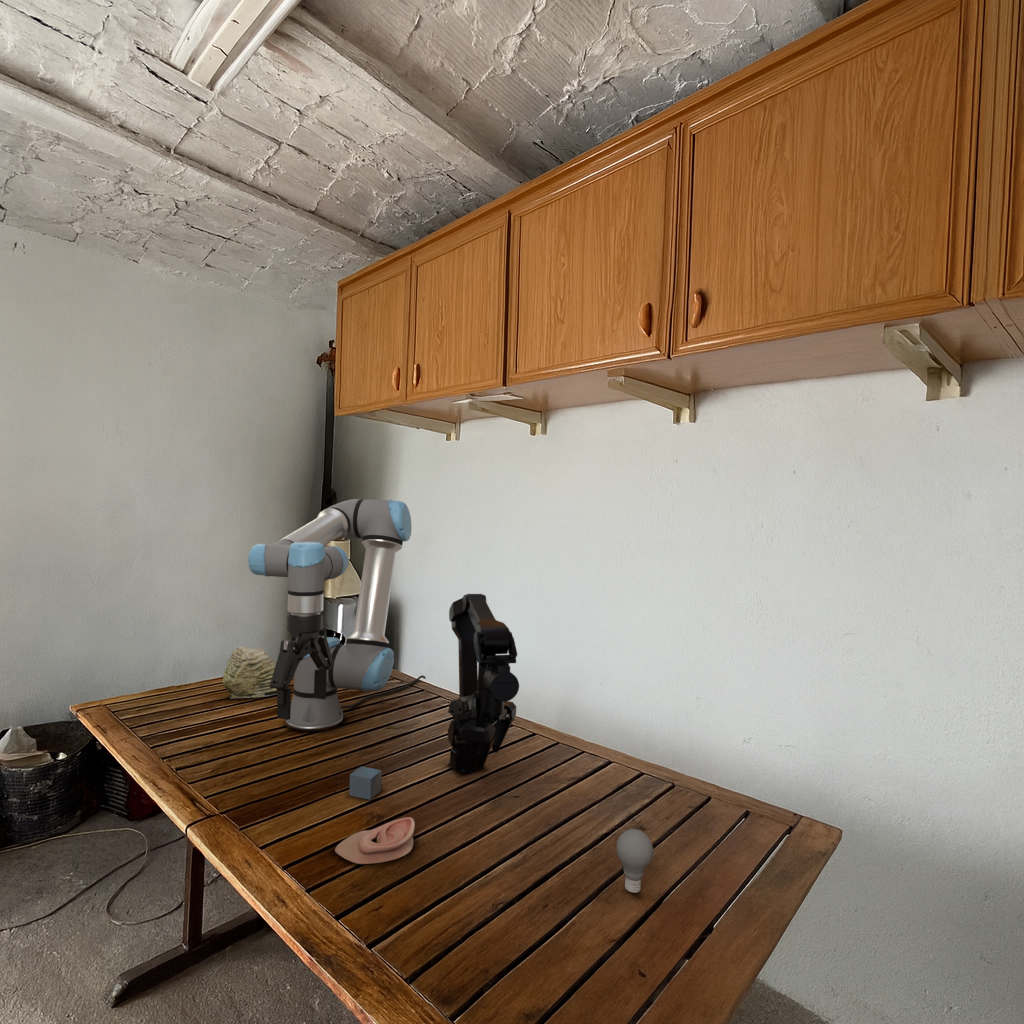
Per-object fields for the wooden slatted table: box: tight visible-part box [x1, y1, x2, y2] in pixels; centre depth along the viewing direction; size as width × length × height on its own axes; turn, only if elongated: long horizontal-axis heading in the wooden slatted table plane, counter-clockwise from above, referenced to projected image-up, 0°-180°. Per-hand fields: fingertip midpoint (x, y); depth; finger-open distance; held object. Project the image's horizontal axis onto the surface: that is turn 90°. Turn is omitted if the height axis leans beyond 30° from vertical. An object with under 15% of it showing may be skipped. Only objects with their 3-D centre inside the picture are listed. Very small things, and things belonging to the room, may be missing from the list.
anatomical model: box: [334, 816, 416, 865], centre depth 115 cm, size 13×4×12 cm
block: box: [348, 765, 383, 801], centre depth 136 cm, size 4×5×5 cm
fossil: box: [222, 646, 285, 699], centre depth 198 cm, size 9×18×15 cm, turn 132°
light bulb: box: [615, 828, 654, 894], centre depth 106 cm, size 6×6×10 cm
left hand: (302, 708), depth 140 cm, fingers open, 13 cm apart
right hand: (487, 760), depth 132 cm, fingers open, 9 cm apart
